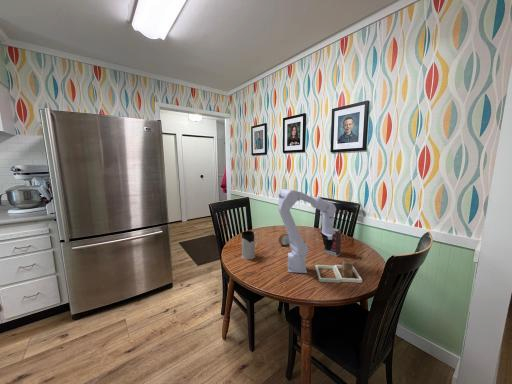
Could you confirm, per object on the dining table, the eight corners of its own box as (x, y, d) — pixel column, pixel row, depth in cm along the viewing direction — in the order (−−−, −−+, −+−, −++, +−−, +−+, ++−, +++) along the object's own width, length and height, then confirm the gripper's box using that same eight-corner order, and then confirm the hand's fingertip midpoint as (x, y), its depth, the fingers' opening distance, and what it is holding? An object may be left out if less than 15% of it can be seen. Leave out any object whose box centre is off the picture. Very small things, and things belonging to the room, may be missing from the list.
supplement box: (340, 254, 128) (341, 229, 126) (336, 256, 125) (337, 231, 123) (328, 250, 135) (328, 226, 133) (323, 252, 132) (324, 228, 130)
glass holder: (238, 256, 128) (237, 233, 126) (254, 249, 138) (253, 227, 136) (248, 261, 122) (247, 236, 120) (264, 253, 132) (263, 230, 130)
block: (343, 276, 103) (344, 263, 103) (341, 272, 107) (342, 259, 106) (352, 277, 103) (352, 263, 102) (349, 272, 107) (350, 260, 106)
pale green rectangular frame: (319, 281, 100) (319, 278, 99) (315, 267, 113) (315, 264, 113) (340, 282, 98) (340, 279, 98) (333, 268, 112) (333, 265, 111)
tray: (340, 281, 99) (340, 278, 99) (334, 267, 112) (334, 264, 112) (362, 282, 98) (362, 279, 98) (352, 268, 111) (353, 265, 111)
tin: (295, 241, 152) (295, 230, 150) (298, 242, 149) (298, 231, 148) (278, 245, 144) (278, 233, 143) (281, 247, 141) (281, 235, 140)
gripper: (338, 228, 106) (337, 253, 108) (332, 220, 120) (331, 242, 122) (324, 227, 107) (323, 252, 109) (319, 220, 121) (319, 242, 123)
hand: (327, 247), depth 116 cm, fingers open, 7 cm apart
